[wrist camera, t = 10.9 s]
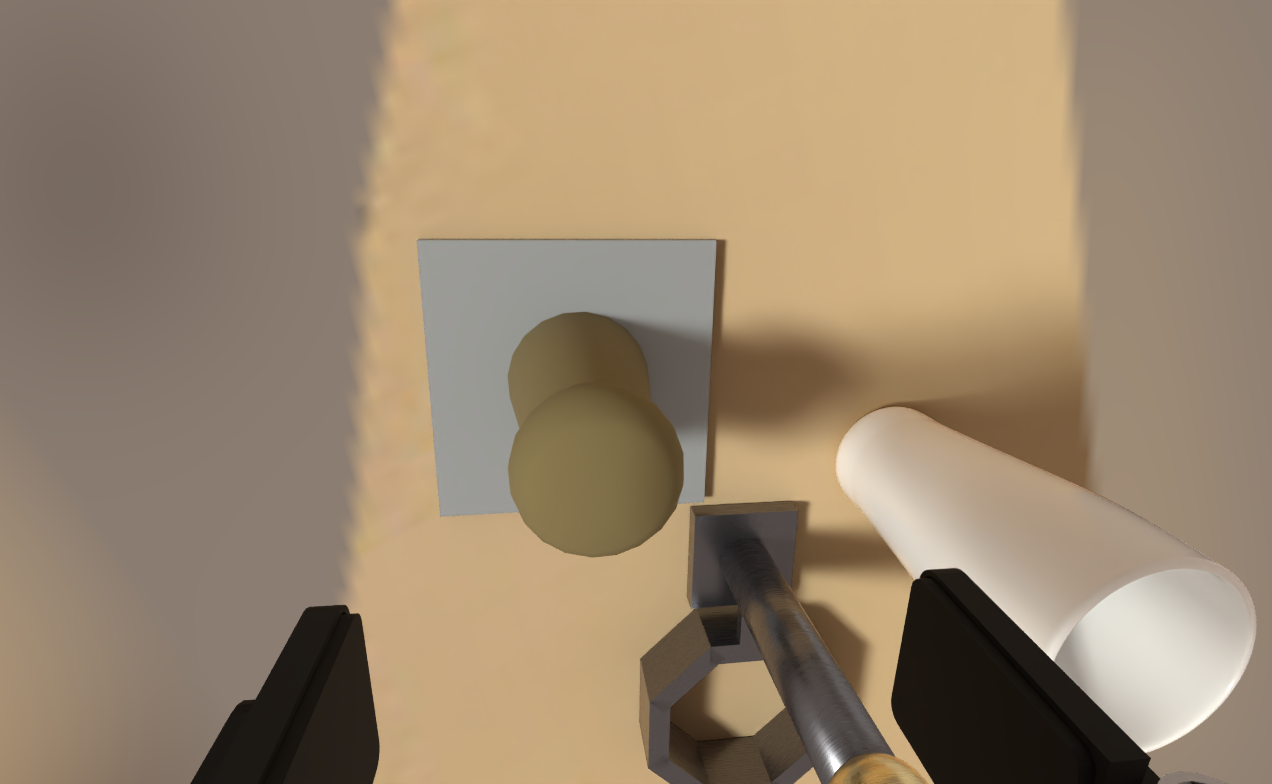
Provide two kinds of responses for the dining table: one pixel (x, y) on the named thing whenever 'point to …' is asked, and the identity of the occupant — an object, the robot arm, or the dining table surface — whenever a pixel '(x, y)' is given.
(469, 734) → the dining table surface
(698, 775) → the ring stand
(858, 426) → the drinking glass
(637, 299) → the mat
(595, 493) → the olive rounded tall piece
